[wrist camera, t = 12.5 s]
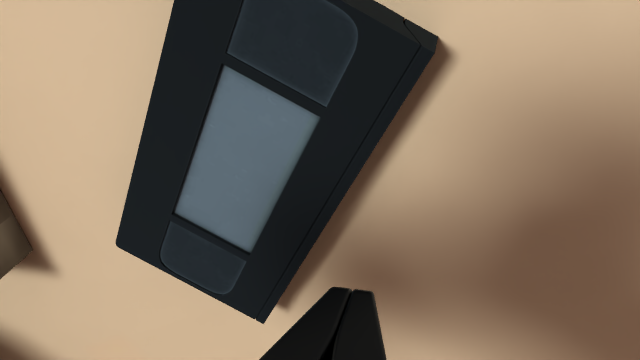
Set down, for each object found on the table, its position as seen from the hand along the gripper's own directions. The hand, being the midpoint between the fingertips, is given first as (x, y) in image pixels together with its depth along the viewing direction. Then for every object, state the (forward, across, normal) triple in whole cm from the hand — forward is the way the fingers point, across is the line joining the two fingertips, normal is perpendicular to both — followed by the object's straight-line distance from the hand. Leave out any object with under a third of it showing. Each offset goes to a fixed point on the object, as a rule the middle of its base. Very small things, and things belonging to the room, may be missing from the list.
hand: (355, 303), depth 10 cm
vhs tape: (+9, +6, +1) cm, 11 cm away
